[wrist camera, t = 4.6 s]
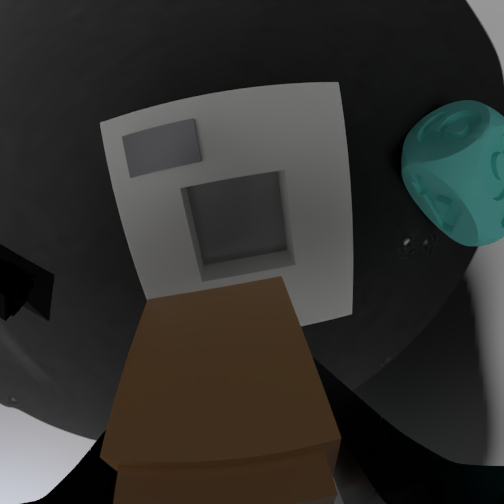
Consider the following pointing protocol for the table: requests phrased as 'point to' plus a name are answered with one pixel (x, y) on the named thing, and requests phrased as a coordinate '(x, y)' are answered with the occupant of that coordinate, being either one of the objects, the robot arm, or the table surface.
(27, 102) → the table surface
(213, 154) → the socket plate
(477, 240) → the decorative dice
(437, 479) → the robot arm
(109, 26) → the table surface
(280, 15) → the table surface
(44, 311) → the black angular piece
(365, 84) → the table surface
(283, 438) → the brown block
